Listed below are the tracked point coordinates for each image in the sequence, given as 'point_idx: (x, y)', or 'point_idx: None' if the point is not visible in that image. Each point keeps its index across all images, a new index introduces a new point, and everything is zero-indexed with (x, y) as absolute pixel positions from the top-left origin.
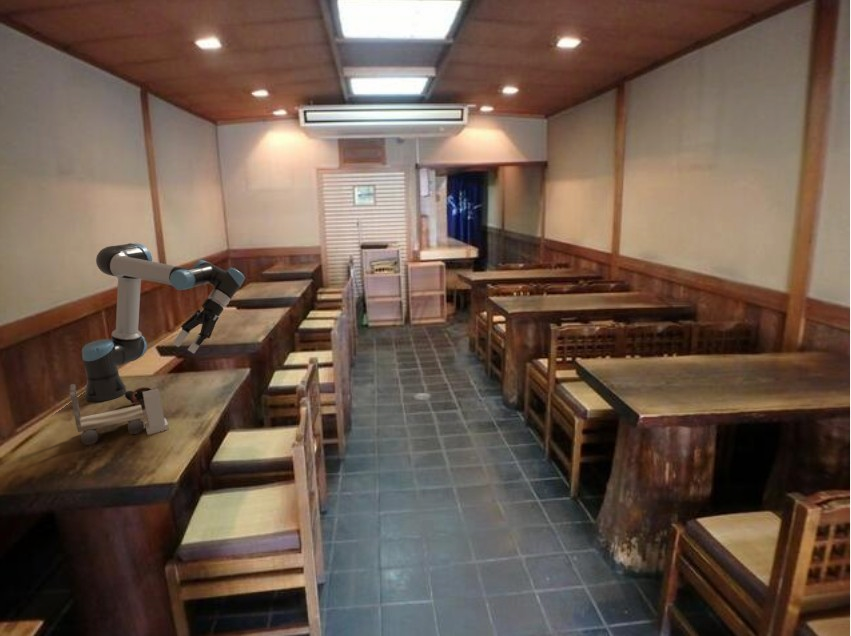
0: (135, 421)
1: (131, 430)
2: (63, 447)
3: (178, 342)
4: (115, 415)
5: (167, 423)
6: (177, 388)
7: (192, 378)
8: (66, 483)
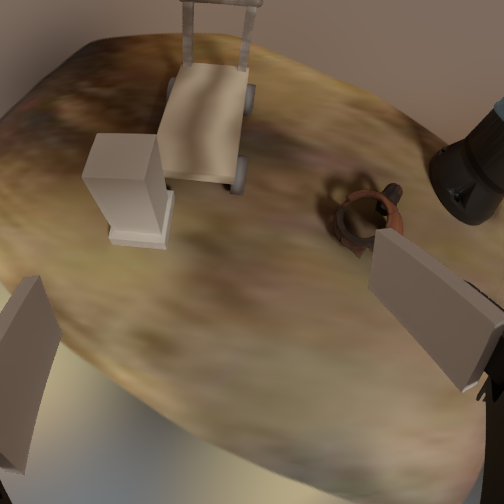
0: None
1: None
2: None
3: (390, 280)
4: (195, 116)
5: (117, 238)
6: None
7: (480, 386)
8: (55, 81)
